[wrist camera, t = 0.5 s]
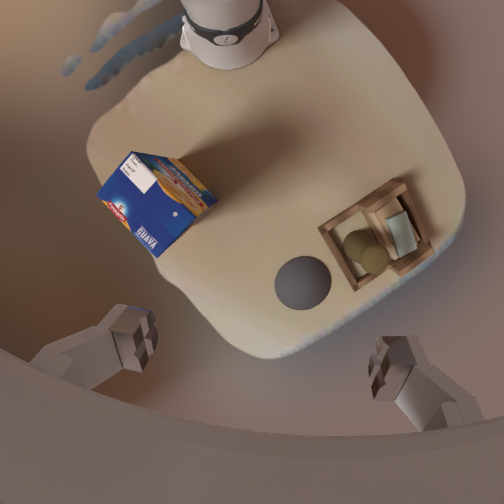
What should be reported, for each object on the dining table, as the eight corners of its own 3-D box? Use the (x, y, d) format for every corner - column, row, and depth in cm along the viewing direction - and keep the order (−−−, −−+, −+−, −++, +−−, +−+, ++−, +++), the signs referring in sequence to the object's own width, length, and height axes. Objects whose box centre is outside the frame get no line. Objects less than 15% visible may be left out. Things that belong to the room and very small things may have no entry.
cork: (351, 225, 55) (372, 237, 44) (376, 238, 56) (400, 252, 45) (337, 253, 56) (355, 270, 46) (362, 265, 57) (384, 284, 46)
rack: (352, 288, 58) (363, 302, 51) (317, 228, 55) (325, 235, 48) (421, 240, 56) (439, 248, 49) (392, 178, 53) (409, 179, 46)
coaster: (273, 258, 57) (273, 259, 56) (330, 254, 57) (330, 255, 56) (275, 311, 59) (276, 312, 59) (329, 307, 59) (329, 307, 59)
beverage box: (177, 159, 52) (131, 150, 31) (218, 200, 54) (196, 217, 33) (152, 185, 53) (96, 194, 32) (193, 226, 55) (157, 258, 34)
